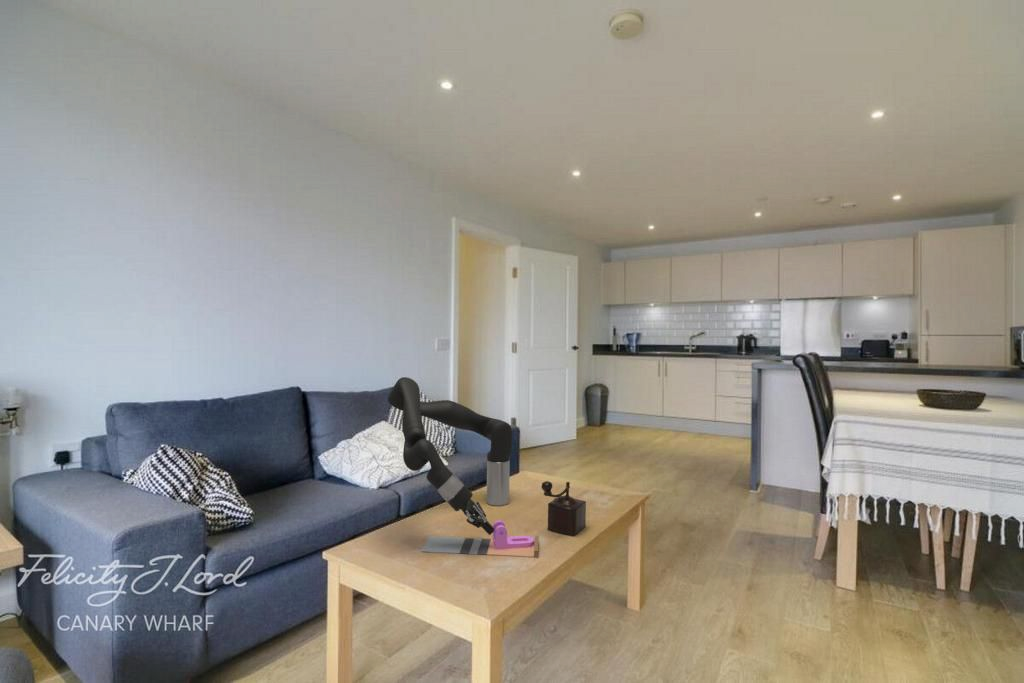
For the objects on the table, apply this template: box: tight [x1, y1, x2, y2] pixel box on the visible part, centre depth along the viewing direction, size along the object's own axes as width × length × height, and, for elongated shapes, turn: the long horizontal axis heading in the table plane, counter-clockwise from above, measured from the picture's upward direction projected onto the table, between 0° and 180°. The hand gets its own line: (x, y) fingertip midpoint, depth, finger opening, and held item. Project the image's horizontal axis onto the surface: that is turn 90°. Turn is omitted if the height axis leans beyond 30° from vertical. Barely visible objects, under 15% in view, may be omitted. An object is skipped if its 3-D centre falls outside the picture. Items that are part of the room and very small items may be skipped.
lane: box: [420, 535, 540, 558], centre depth 152 cm, size 11×36×2 cm, turn 86°
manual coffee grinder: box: [540, 480, 587, 537], centre depth 165 cm, size 16×11×18 cm
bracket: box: [492, 519, 535, 549], centre depth 153 cm, size 13×6×7 cm, turn 99°
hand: (492, 532), depth 151 cm, fingers closed
